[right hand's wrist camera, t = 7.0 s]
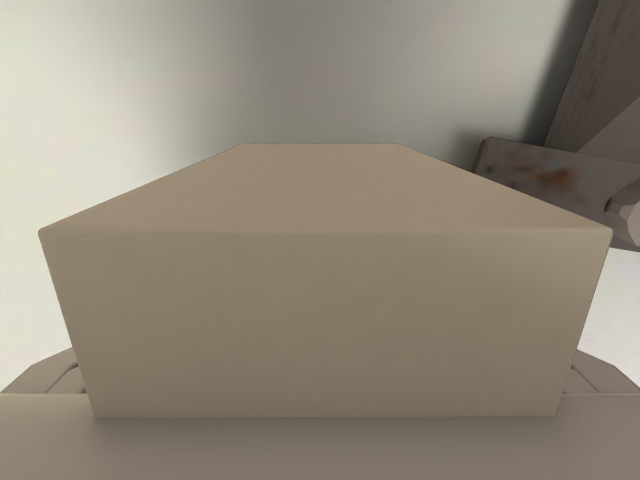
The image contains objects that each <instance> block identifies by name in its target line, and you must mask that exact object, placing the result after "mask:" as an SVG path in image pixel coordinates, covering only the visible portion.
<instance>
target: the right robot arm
mask: <svg viewBox="0 0 640 480" xmlns="http://www.w3.org/2000/svg"><path fill="white" fill-rule="evenodd" d="M0 480H640V388H639V387H638V386H637V385H636V384H635V383H634V382H632V381H631V380H630V379H629V378H628V377H627V376H626V375H624V374H623V373H622V372H621V371H620V370H619V369H617V368H616V367H615V366H614V365H611V364H609V363H607V362H605V361H602V360H600V359H598V358H596V357H593V356H591V355H589V354H587V353H584V352H582V351H580V350H577V349H576V352H575V356H574V359H573V362H572V365H571V368H570V371H569V374H568V378H567V381H566V384H565V387H564V390H563V393H562V396H561V399H560V403H559V406H558V409H557V412H556V415H555V416H493V417H234V418H95V417H94V416H93V412H92V409H91V406H90V402H89V399H88V396H87V393H86V389H85V386H84V383H83V379H82V376H81V373H80V370H79V366H78V363H77V360H76V357H75V353H74V350H73V347H71V348H69V349H67V350H65V351H62V352H60V353H58V354H56V355H53V356H51V357H49V358H47V359H44V360H42V361H40V362H38V363H35V364H33V365H31V366H30V367H29V368H28V369H27V370H26V371H24V372H23V373H22V374H21V375H20V376H19V377H17V378H16V379H15V380H14V381H13V382H12V383H11V384H9V385H8V386H7V387H6V388H5V389H4V390H3V391H1V392H0Z"/></svg>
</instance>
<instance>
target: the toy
mask: <svg viewBox="0 0 640 480" xmlns="http://www.w3.org/2000/svg"><path fill="white" fill-rule="evenodd" d="M472 173H473V174H476V175H478V176H481V177H484V178H486V179H489V180H491V181H494V182H496V183H499V184H501V185H504V186H506V187H509V188H511V189H514V190H516V191H519V192H521V193H524V194H527V195H529V196H532V197H534V198H537V199H539V200H542V201H544V202H547V203H549V204H552V205H554V206H557V207H559V208H562V209H564V210H567V211H569V212H572V213H575V214H577V215H580V216H582V217H585V218H587V219H590V220H592V221H595V222H597V223H600V224H602V225H605V226H607V227H610V228H612V229H613V236H612V240H611V243H610V246H609V247H611V248H617V249H623V250H629V251H635V252H640V0H599V3H598V5H597V8H596V10H595V13H594V16H593V18H592V21H591V23H590V26H589V29H588V31H587V34H586V36H585V39H584V41H583V44H582V47H581V49H580V52H579V54H578V57H577V60H576V62H575V65H574V67H573V70H572V73H571V75H570V78H569V80H568V83H567V85H566V88H565V91H564V93H563V96H562V98H561V101H560V104H559V106H558V109H557V111H556V114H555V117H554V119H553V122H552V124H551V127H550V129H549V132H548V135H547V137H546V140H545V142H544V145H543V147H541V146H536V145H531V144H525V143H520V142H514V141H509V140H503V139H498V138H493V137H487V139H486V140H482V143H481V146H480V149H479V153H478V156H477V159H476V162H475V165H474V168H473V171H472Z"/></svg>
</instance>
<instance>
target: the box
mask: <svg viewBox="0 0 640 480" xmlns="http://www.w3.org/2000/svg"><path fill="white" fill-rule="evenodd" d="M38 235H39V239H40V242H41V245H42V248H43V252H44V255H45V258H46V261H47V265H48V268H49V271H50V275H51V278H52V281H53V284H54V288H55V291H56V294H57V298H58V301H59V304H60V307H61V311H62V314H63V317H64V320H65V324H66V327H67V330H68V334H69V337H70V340H71V343H72V347H73V350H74V353H75V357H76V360H77V363H78V366H79V370H80V373H81V376H82V379H83V383H84V386H85V389H86V393H87V396H88V399H89V402H90V406H91V409H92V412H93V416H94V417H95V418H234V417H493V416H555V415H556V412H557V409H558V406H559V403H560V399H561V396H562V393H563V390H564V387H565V384H566V381H567V378H568V374H569V371H570V368H571V365H572V362H573V359H574V356H575V352H576V349H577V346H578V343H579V340H580V337H581V334H582V330H583V327H584V324H585V321H586V318H587V315H588V312H589V309H590V305H591V302H592V299H593V296H594V293H595V290H596V287H597V283H598V280H599V277H600V274H601V271H602V268H603V265H604V261H605V258H606V255H607V252H608V249H609V246H610V243H611V240H612V236H613V229H612V228H610V227H607V226H605V225H602V224H600V223H597V222H595V221H592V220H590V219H587V218H585V217H582V216H580V215H577V214H575V213H572V212H569V211H567V210H564V209H562V208H559V207H557V206H554V205H552V204H549V203H547V202H544V201H542V200H539V199H537V198H534V197H532V196H529V195H527V194H524V193H521V192H519V191H516V190H514V189H511V188H509V187H506V186H504V185H501V184H499V183H496V182H494V181H491V180H489V179H486V178H484V177H481V176H478V175H476V174H473V173H471V172H468V171H466V170H463V169H461V168H458V167H456V166H453V165H451V164H448V163H446V162H443V161H441V160H438V159H436V158H433V157H430V156H428V155H425V154H423V153H420V152H418V151H415V150H413V149H410V148H408V147H405V146H403V145H400V144H241V145H238V146H236V147H233V148H231V149H229V150H226V151H224V152H222V153H219V154H217V155H214V156H212V157H210V158H207V159H205V160H203V161H200V162H198V163H195V164H193V165H191V166H188V167H186V168H184V169H181V170H179V171H176V172H174V173H172V174H169V175H167V176H165V177H162V178H160V179H157V180H155V181H153V182H150V183H148V184H146V185H143V186H141V187H138V188H136V189H134V190H131V191H129V192H127V193H124V194H122V195H119V196H117V197H115V198H112V199H110V200H108V201H105V202H103V203H100V204H98V205H96V206H93V207H91V208H89V209H86V210H84V211H81V212H79V213H77V214H74V215H72V216H70V217H67V218H65V219H62V220H60V221H58V222H55V223H53V224H50V225H48V226H46V227H43V228H41V229H40V230H39V231H38Z"/></svg>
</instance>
